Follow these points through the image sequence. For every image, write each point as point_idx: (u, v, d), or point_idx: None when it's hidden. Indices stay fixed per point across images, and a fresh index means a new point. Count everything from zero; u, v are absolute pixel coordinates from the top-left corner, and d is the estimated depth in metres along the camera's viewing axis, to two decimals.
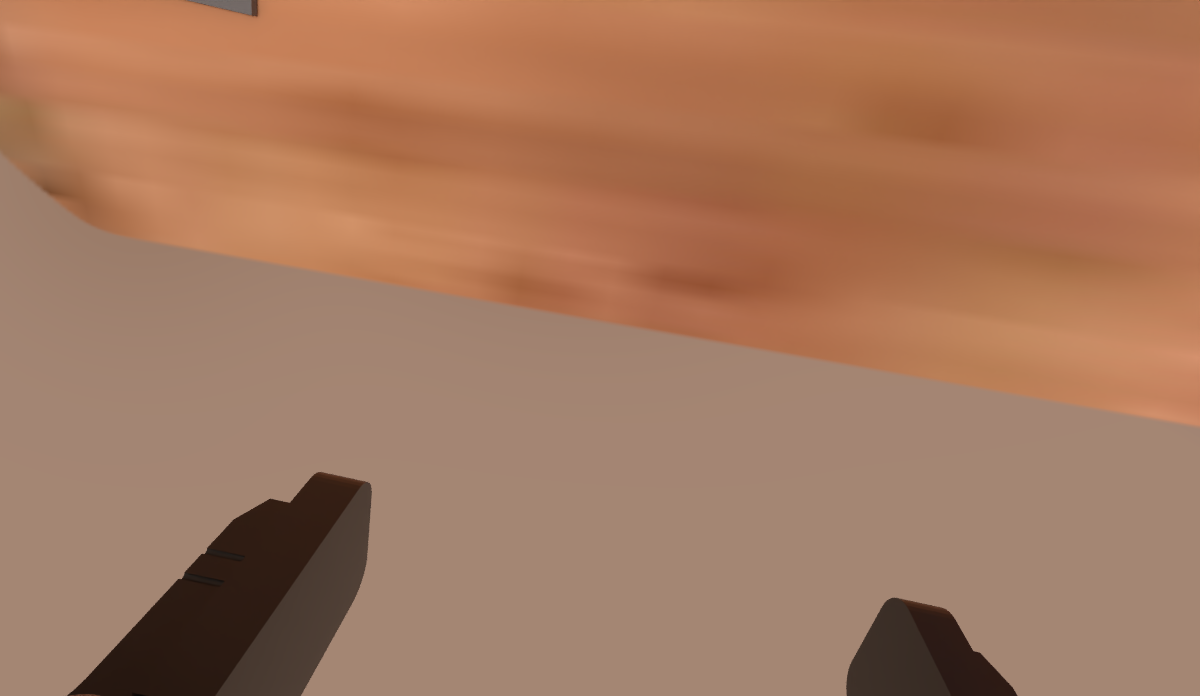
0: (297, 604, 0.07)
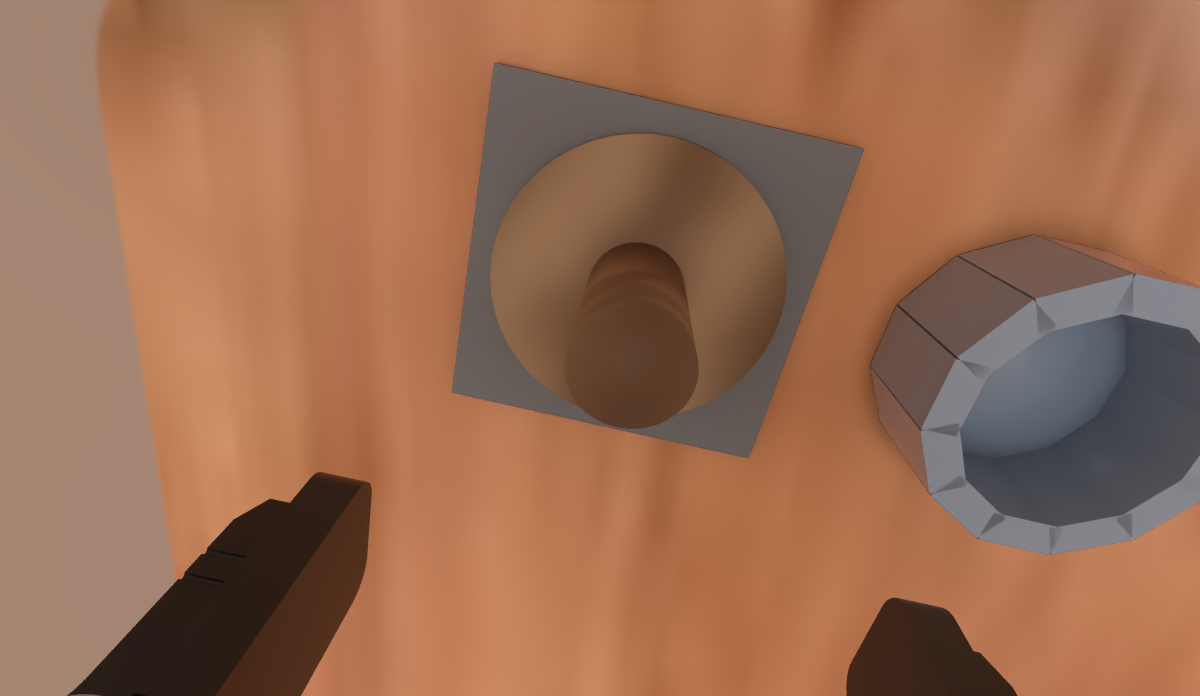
0: (297, 605, 0.07)
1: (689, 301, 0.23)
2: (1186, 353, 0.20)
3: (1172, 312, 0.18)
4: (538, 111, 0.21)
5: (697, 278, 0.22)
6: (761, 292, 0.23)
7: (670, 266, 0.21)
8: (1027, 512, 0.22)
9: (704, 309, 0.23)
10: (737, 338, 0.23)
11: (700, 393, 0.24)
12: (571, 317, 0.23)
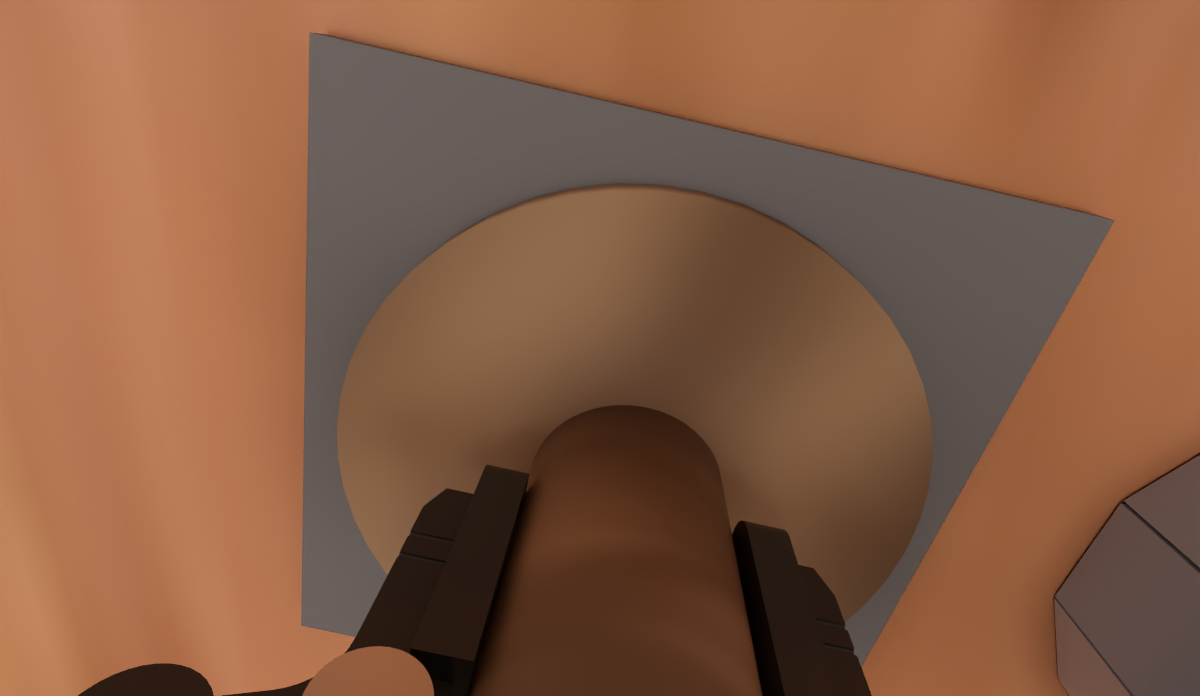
0: (500, 579, 0.08)
1: (730, 510, 0.12)
2: None
3: None
4: (414, 139, 0.10)
5: (748, 471, 0.11)
6: (875, 498, 0.11)
7: (698, 480, 0.10)
8: None
9: None
10: (822, 574, 0.12)
11: None
12: None
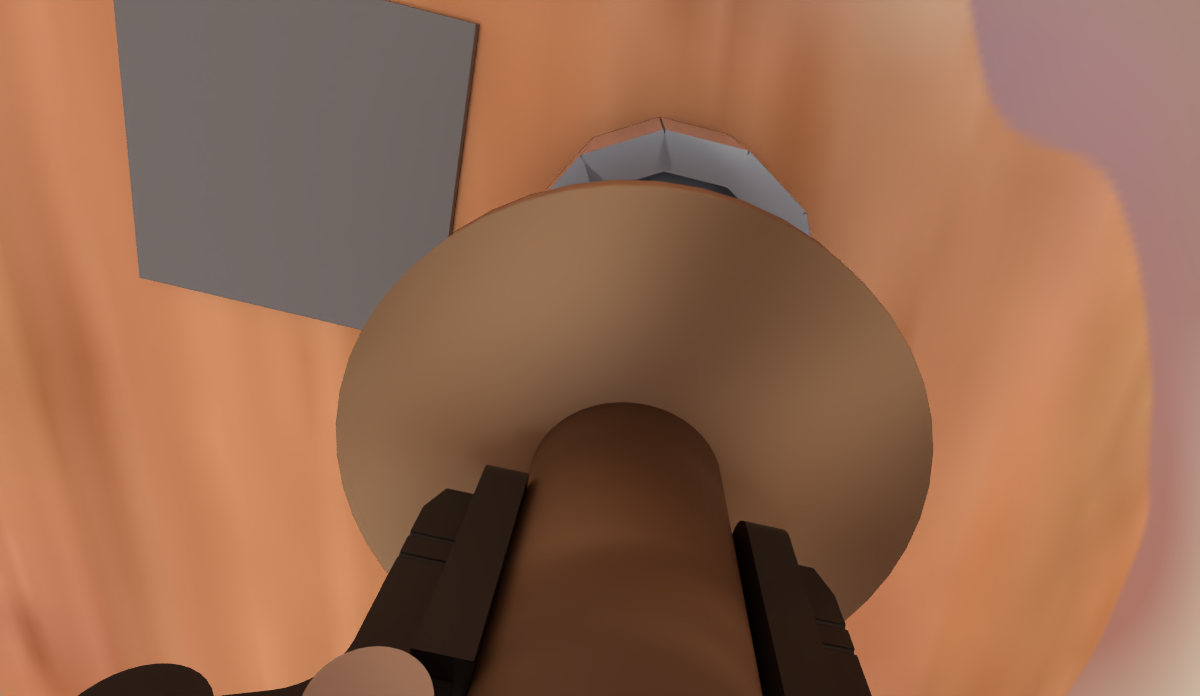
0: (499, 580, 0.08)
1: (730, 507, 0.12)
2: None
3: (708, 169, 0.19)
4: None
5: (748, 469, 0.11)
6: (875, 496, 0.11)
7: (698, 477, 0.09)
8: None
9: (759, 522, 0.12)
10: (822, 571, 0.12)
11: None
12: None
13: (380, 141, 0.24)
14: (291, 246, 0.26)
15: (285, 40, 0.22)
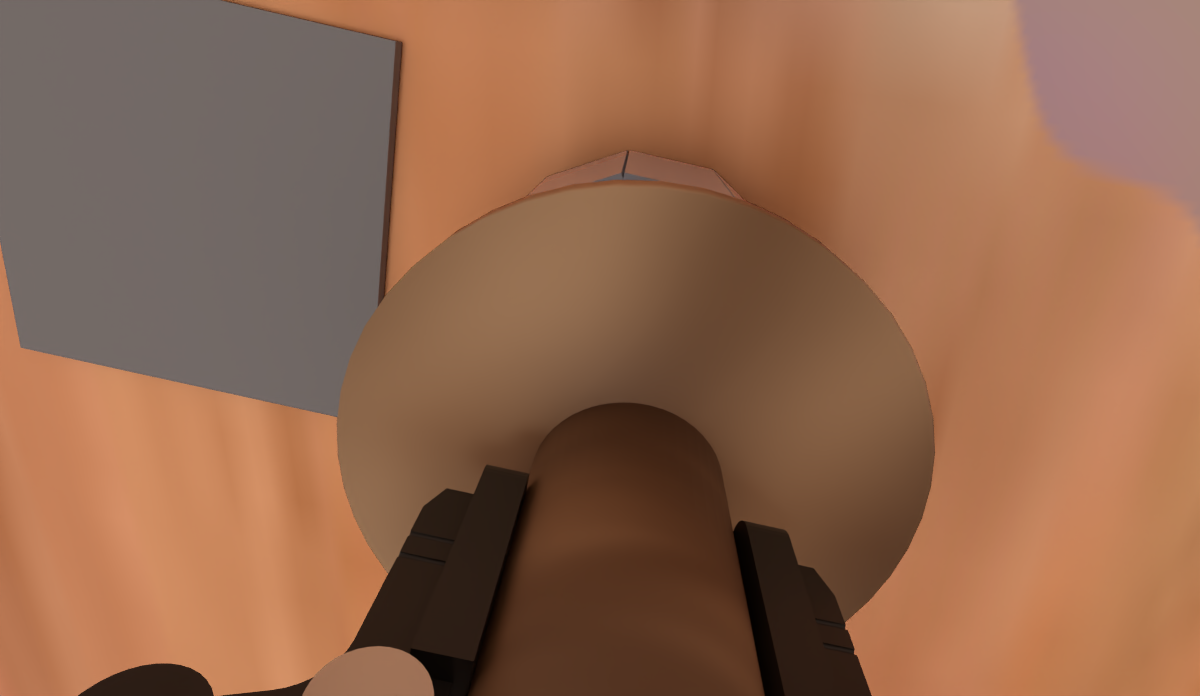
0: (500, 580, 0.08)
1: (731, 508, 0.12)
2: None
3: None
4: None
5: (749, 469, 0.11)
6: (877, 497, 0.11)
7: (700, 478, 0.09)
8: None
9: (761, 522, 0.12)
10: (823, 572, 0.12)
11: None
12: None
13: (289, 185, 0.19)
14: (193, 310, 0.21)
15: (166, 66, 0.18)
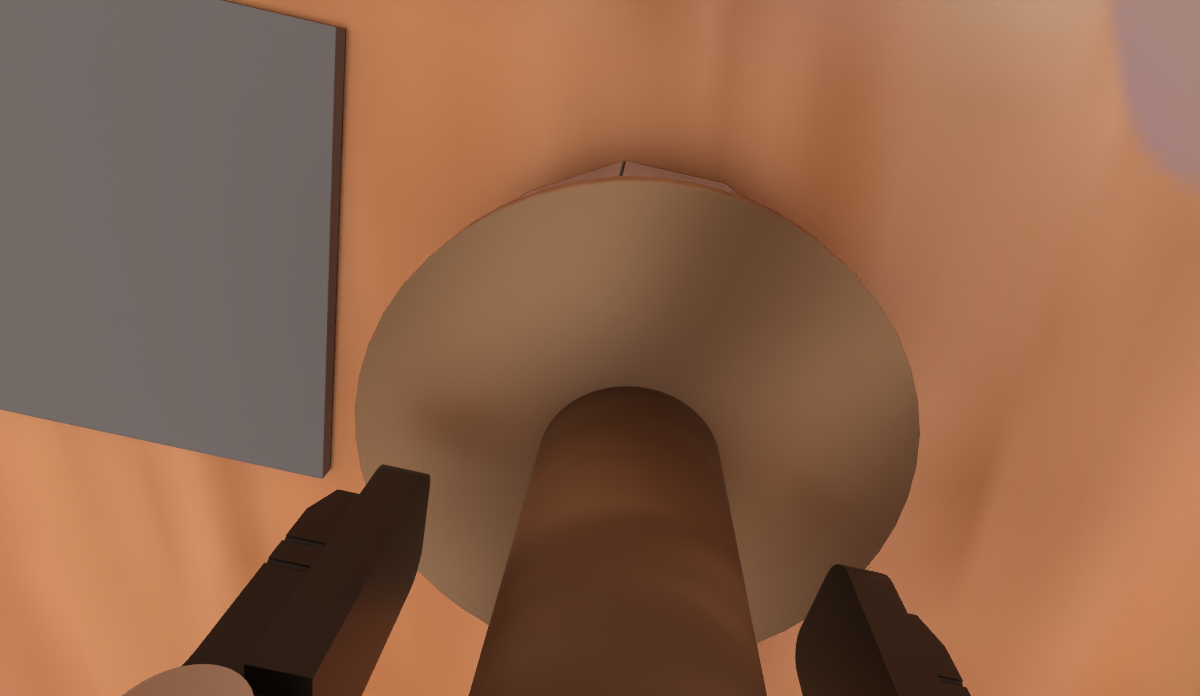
0: (375, 587, 0.08)
1: (728, 487, 0.12)
2: None
3: None
4: None
5: (745, 450, 0.12)
6: (865, 475, 0.12)
7: (698, 454, 0.10)
8: None
9: (756, 501, 0.12)
10: (815, 548, 0.13)
11: None
12: (509, 509, 0.13)
13: (214, 203, 0.16)
14: (109, 349, 0.18)
15: (57, 58, 0.15)
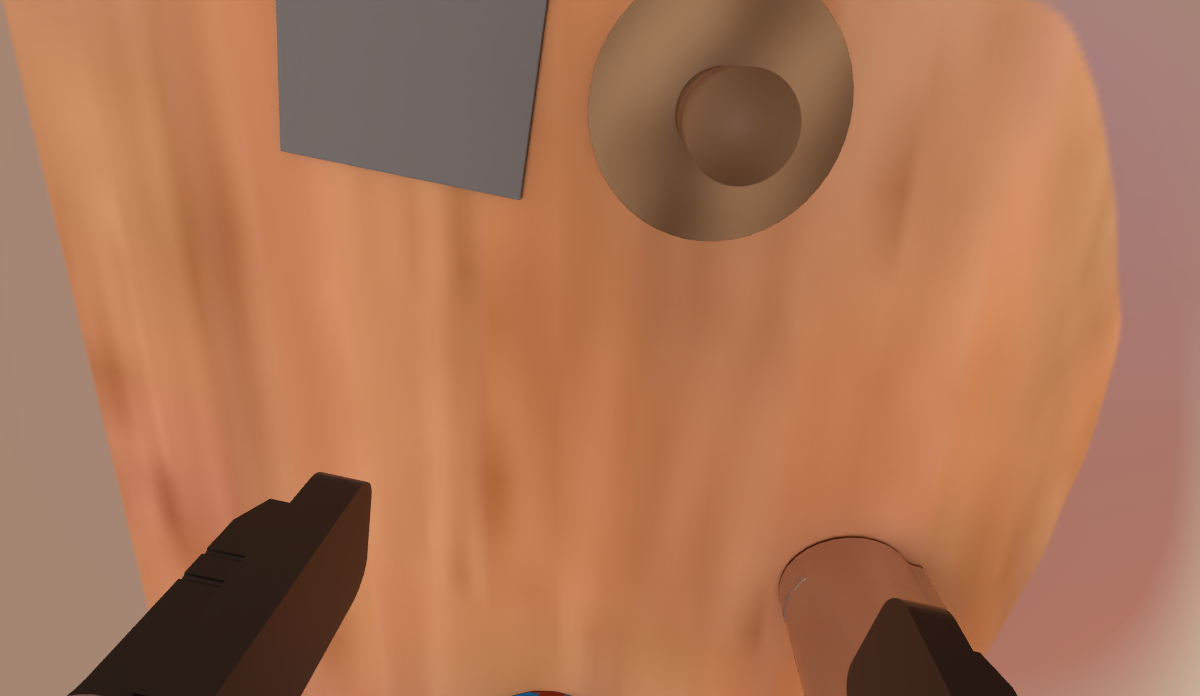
0: (297, 605, 0.07)
1: None
2: None
3: None
4: None
5: None
6: (829, 111, 0.25)
7: None
8: None
9: None
10: (807, 157, 0.26)
11: (772, 213, 0.27)
12: (658, 143, 0.26)
13: (480, 19, 0.30)
14: (405, 116, 0.32)
15: None
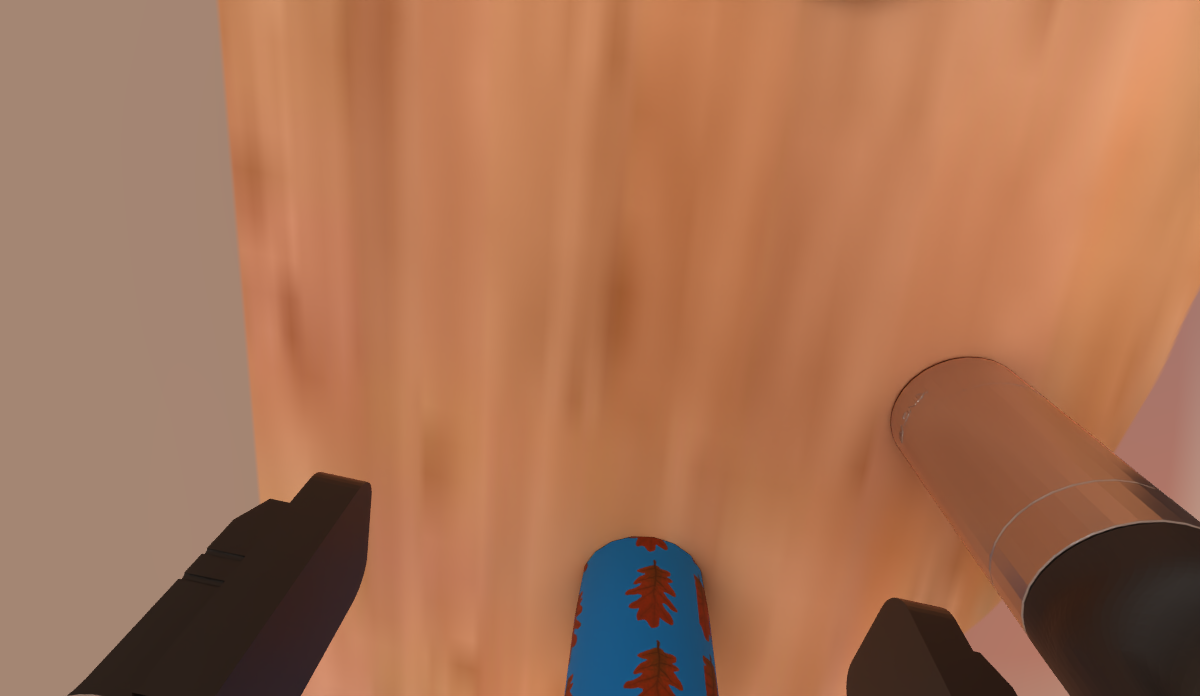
0: (298, 605, 0.07)
1: None
2: None
3: None
4: None
5: None
6: None
7: None
8: None
9: None
10: None
11: None
12: None
13: None
14: None
15: None
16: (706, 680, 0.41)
